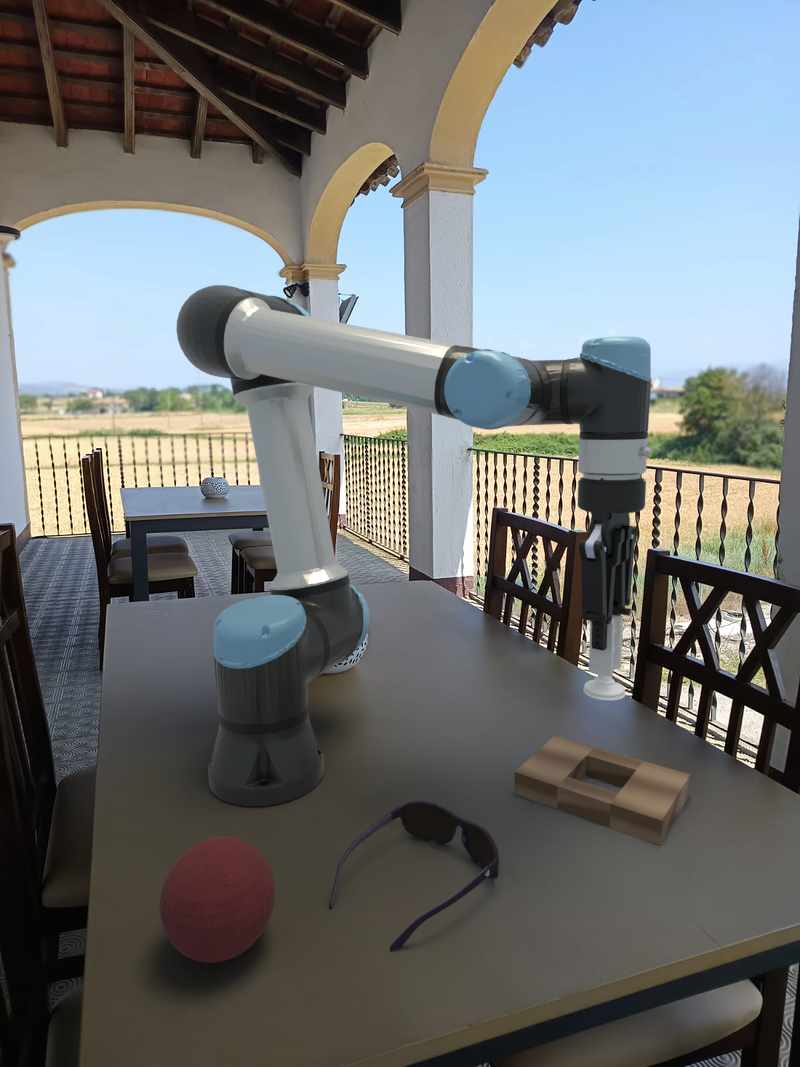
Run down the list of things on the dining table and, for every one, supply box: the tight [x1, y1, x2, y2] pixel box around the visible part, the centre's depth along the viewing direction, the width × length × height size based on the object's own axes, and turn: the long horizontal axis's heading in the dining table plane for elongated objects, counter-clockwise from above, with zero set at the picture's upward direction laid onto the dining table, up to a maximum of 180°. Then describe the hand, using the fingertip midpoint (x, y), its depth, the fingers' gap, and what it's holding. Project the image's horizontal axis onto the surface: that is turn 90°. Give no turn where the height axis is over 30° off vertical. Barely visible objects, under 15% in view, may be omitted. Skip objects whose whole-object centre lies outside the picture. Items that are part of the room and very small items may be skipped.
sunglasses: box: [328, 800, 500, 952], centre depth 69 cm, size 14×16×5 cm
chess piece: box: [582, 618, 626, 702], centre depth 83 cm, size 5×5×10 cm
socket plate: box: [513, 735, 691, 846], centre depth 86 cm, size 12×18×3 cm, turn 53°
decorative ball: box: [159, 835, 276, 964], centre depth 61 cm, size 10×10×10 cm
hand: (604, 669), depth 83 cm, fingers closed on chess piece, 2 cm apart
